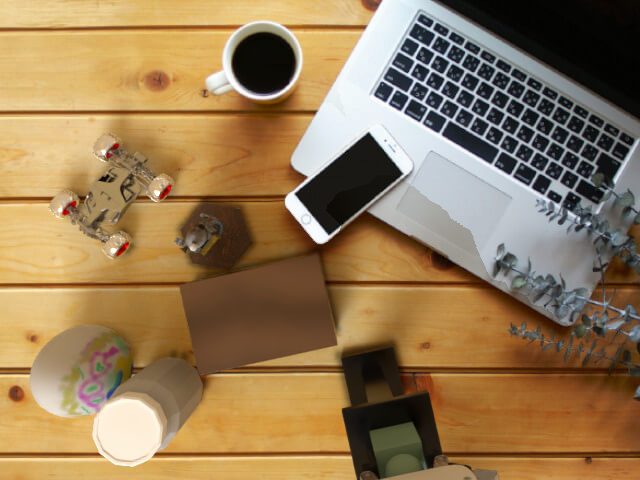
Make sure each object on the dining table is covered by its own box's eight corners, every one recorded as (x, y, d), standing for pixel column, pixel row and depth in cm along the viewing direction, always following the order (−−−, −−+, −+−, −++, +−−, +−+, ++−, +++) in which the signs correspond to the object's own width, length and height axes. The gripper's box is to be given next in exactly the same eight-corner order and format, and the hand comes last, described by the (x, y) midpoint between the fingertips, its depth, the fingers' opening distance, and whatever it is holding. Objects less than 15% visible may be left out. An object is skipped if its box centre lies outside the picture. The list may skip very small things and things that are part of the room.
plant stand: (408, 399, 78) (448, 479, 52) (349, 412, 78) (360, 498, 52) (395, 340, 78) (429, 392, 52) (336, 353, 78) (341, 411, 52)
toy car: (120, 260, 79) (105, 262, 73) (57, 212, 79) (38, 210, 74) (180, 181, 78) (170, 177, 73) (117, 133, 78) (102, 125, 73)
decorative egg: (132, 408, 79) (86, 449, 64) (54, 389, 79) (-10, 424, 64) (151, 330, 79) (110, 352, 64) (73, 310, 79) (14, 327, 64)
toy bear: (420, 460, 52) (439, 504, 44) (377, 469, 52) (388, 515, 44) (412, 421, 52) (429, 457, 44) (369, 430, 52) (377, 468, 44)
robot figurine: (217, 187, 78) (198, 178, 66) (265, 227, 78) (253, 225, 66) (170, 243, 78) (142, 244, 66) (217, 283, 78) (197, 291, 66)
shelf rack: (336, 329, 78) (337, 345, 67) (217, 356, 78) (198, 375, 67) (318, 252, 78) (317, 254, 67) (199, 278, 78) (178, 285, 67)
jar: (131, 405, 79) (73, 454, 61) (154, 345, 79) (103, 377, 61) (191, 429, 79) (150, 486, 61) (214, 369, 78) (181, 408, 60)
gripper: (317, 681, 31) (320, 516, 49) (596, 622, 31) (495, 478, 49) (290, 557, 31) (303, 438, 49) (569, 498, 31) (478, 401, 49)
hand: (399, 459), depth 49 cm, fingers closed on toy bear, 4 cm apart
